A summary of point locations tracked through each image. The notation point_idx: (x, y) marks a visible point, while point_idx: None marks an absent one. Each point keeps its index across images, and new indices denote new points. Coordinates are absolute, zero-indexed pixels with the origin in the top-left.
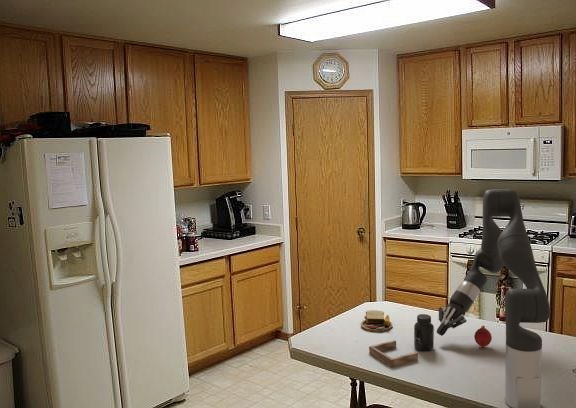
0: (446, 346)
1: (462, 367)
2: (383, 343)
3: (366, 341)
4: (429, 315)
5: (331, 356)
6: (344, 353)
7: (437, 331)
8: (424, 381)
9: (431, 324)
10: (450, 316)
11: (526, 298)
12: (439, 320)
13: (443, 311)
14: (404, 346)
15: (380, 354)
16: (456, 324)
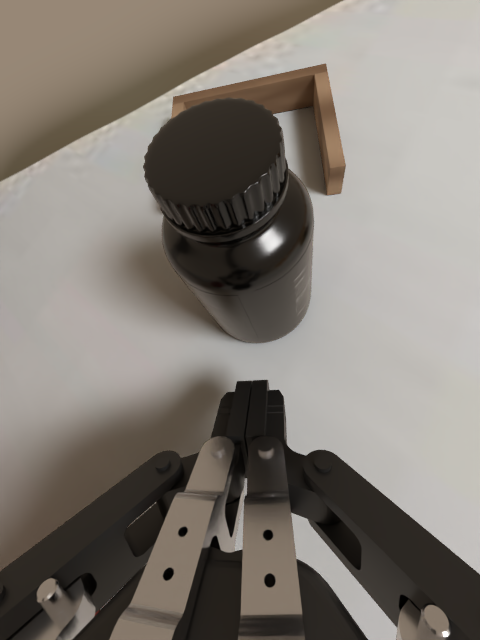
0: None
1: (29, 328)
2: (328, 114)
3: (454, 115)
4: (199, 202)
5: (354, 2)
6: (360, 33)
7: (259, 381)
8: (56, 169)
9: (180, 245)
10: (168, 527)
11: None
12: (318, 453)
13: (418, 631)
14: (323, 231)
15: (242, 86)
16: (139, 536)
